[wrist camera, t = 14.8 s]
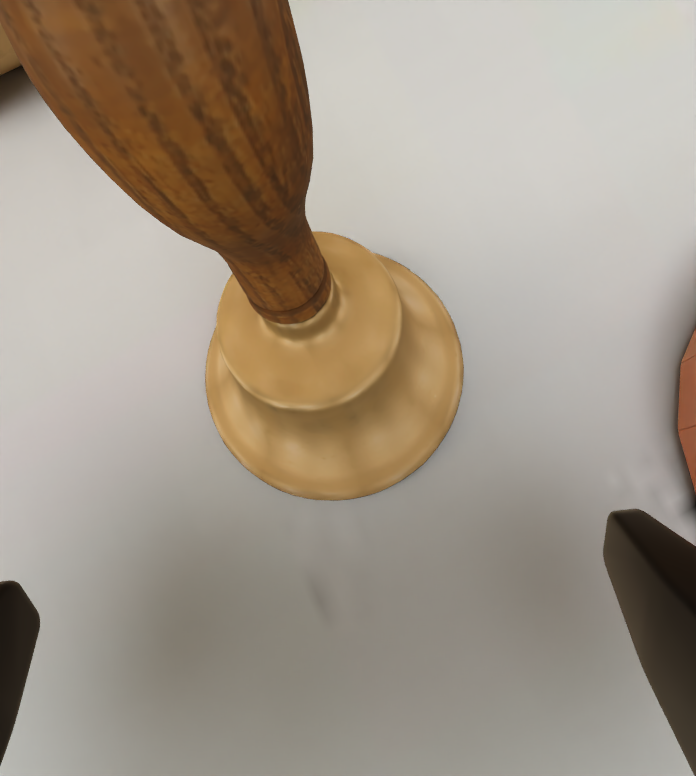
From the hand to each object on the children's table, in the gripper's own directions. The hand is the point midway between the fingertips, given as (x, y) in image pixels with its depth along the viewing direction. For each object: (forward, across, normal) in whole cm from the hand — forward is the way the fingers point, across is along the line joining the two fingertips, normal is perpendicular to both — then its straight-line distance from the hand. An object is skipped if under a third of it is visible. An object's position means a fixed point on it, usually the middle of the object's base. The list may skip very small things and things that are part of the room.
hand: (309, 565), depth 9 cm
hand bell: (+10, 0, +2) cm, 11 cm away
